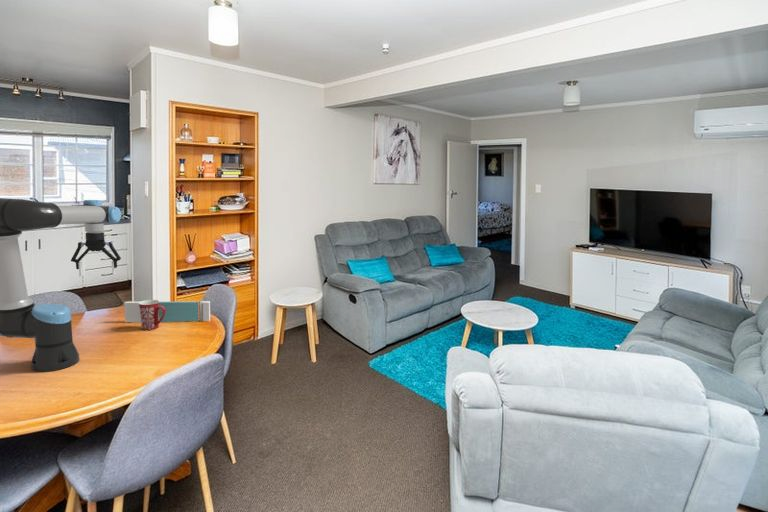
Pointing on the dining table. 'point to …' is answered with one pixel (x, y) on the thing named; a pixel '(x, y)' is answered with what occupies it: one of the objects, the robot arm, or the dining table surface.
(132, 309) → the wall frame
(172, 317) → the door
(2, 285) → the robot arm
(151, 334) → the dining table surface
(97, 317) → the dining table surface
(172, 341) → the dining table surface
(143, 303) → the mug
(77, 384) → the dining table surface
